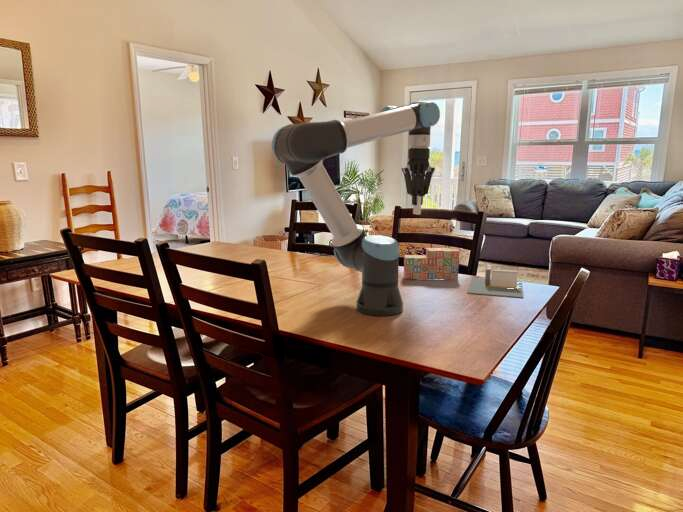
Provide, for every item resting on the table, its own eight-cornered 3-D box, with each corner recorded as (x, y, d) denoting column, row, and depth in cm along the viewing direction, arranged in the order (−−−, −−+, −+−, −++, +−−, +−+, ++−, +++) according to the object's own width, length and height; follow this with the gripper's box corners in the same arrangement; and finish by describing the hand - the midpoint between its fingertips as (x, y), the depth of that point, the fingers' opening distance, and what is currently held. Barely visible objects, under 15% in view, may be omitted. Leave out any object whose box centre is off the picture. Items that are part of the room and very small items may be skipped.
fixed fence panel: (489, 286, 183) (490, 269, 182) (485, 285, 183) (486, 268, 182) (490, 280, 191) (491, 264, 190) (486, 280, 192) (487, 263, 191)
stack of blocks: (405, 280, 193) (405, 250, 190) (403, 276, 199) (404, 247, 196) (458, 280, 192) (459, 250, 190) (455, 276, 198) (456, 247, 196)
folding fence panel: (516, 286, 180) (517, 270, 178) (516, 287, 178) (517, 271, 177) (484, 284, 183) (485, 268, 182) (484, 285, 181) (485, 269, 180)
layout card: (522, 298, 167) (523, 296, 167) (467, 293, 173) (467, 292, 173) (521, 282, 188) (521, 281, 188) (471, 278, 194) (471, 277, 194)
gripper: (409, 147, 163) (407, 216, 167) (440, 147, 168) (437, 214, 173) (397, 147, 169) (396, 213, 174) (428, 148, 175) (425, 212, 179)
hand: (416, 214), depth 173 cm, fingers closed
